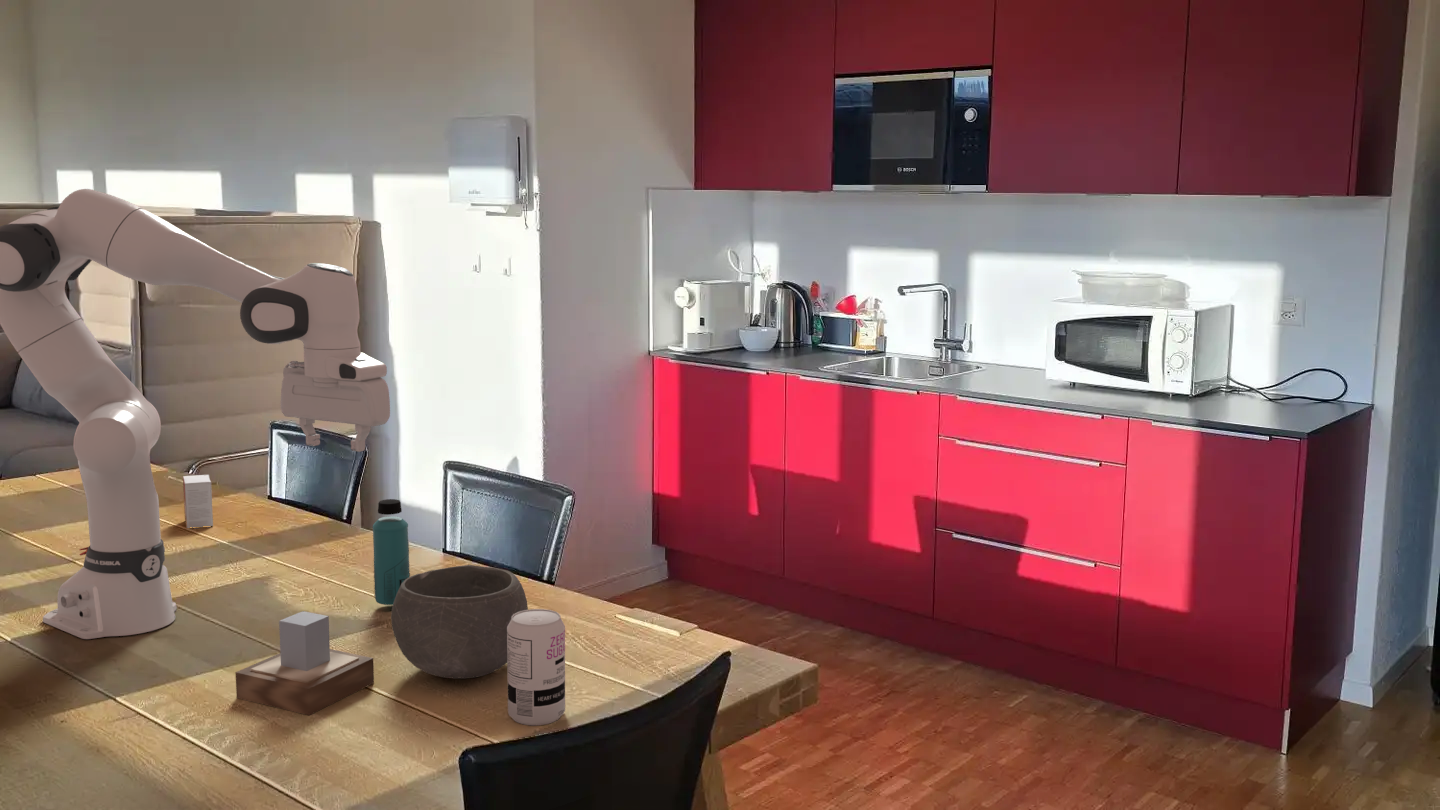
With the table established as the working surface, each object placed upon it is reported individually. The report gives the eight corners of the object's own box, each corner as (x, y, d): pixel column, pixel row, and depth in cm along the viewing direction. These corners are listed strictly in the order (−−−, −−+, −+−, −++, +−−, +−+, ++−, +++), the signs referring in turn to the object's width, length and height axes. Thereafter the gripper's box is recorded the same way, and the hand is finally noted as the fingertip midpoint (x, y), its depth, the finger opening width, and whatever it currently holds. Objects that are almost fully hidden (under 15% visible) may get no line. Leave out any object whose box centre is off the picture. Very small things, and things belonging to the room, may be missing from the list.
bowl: (463, 708, 187) (462, 610, 184) (363, 678, 198) (361, 585, 195) (555, 665, 204) (555, 575, 202) (459, 639, 215) (457, 554, 213)
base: (236, 697, 189) (235, 670, 188) (304, 667, 202) (303, 641, 201) (309, 715, 183) (308, 687, 183) (373, 682, 196) (373, 656, 195)
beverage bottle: (401, 614, 228) (399, 505, 224) (367, 611, 229) (364, 503, 226) (417, 603, 234) (415, 497, 231) (383, 600, 235) (381, 495, 232)
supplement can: (510, 705, 188) (509, 607, 186) (566, 704, 189) (565, 607, 187) (505, 727, 180) (504, 626, 178) (564, 726, 181) (564, 625, 179)
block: (280, 665, 191) (279, 620, 190) (304, 654, 195) (303, 611, 194) (306, 671, 189) (304, 625, 187) (330, 660, 193) (328, 616, 192)
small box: (184, 521, 289) (182, 475, 287) (211, 518, 291) (209, 473, 289) (186, 529, 281) (183, 483, 280) (213, 527, 284) (211, 481, 282)
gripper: (269, 362, 207) (273, 445, 210) (368, 371, 199) (371, 457, 201) (297, 357, 213) (300, 438, 215) (395, 366, 205) (397, 450, 207)
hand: (335, 448), depth 208 cm, fingers open, 8 cm apart
